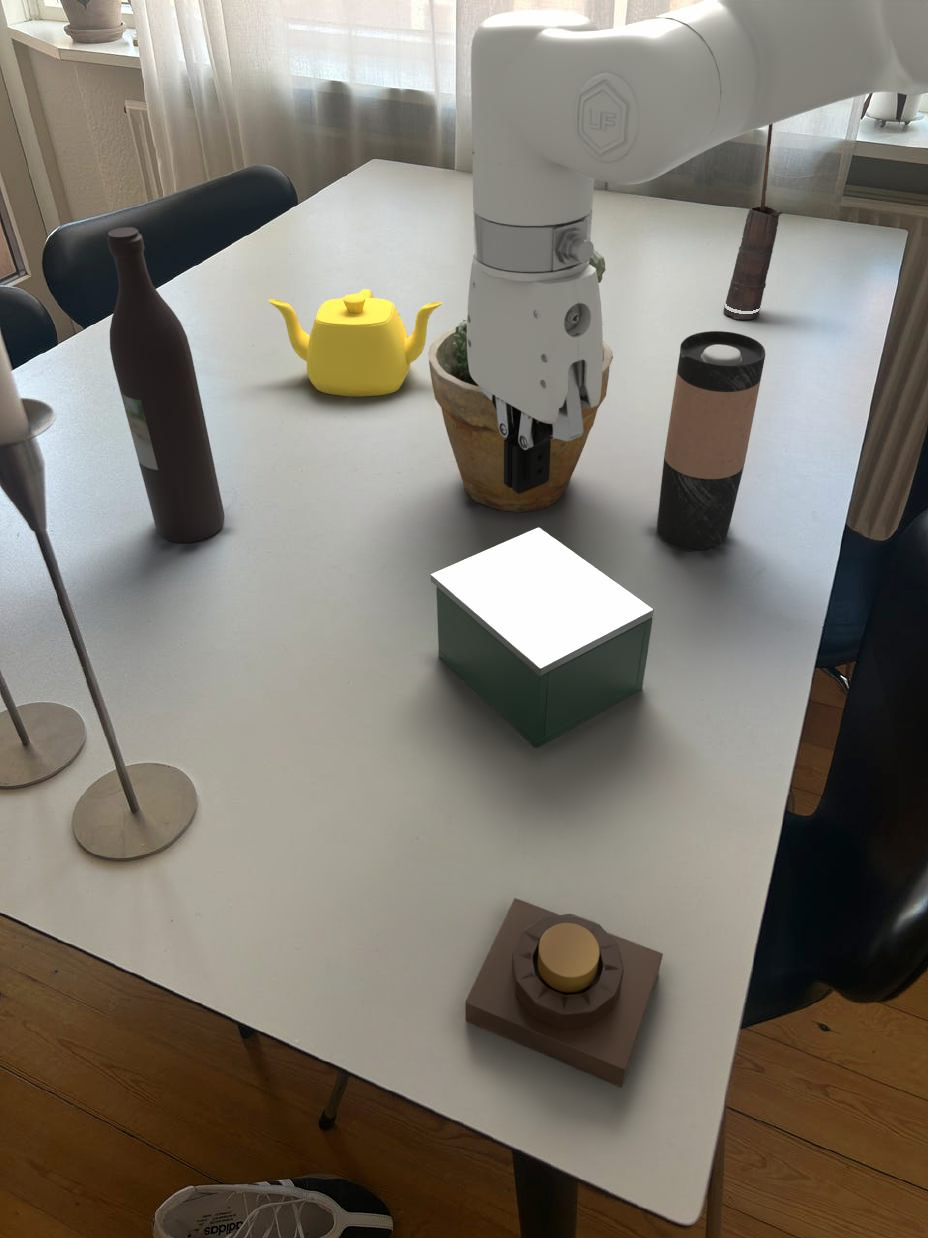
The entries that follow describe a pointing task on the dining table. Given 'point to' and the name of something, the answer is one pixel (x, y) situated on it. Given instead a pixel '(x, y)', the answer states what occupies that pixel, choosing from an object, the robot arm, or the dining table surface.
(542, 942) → the button
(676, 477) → the travel mug
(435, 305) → the teapot
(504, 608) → the tin lid
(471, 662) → the tin
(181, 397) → the wine bottle
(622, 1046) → the button block
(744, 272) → the butter churn
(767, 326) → the dining table surface
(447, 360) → the potted plant
